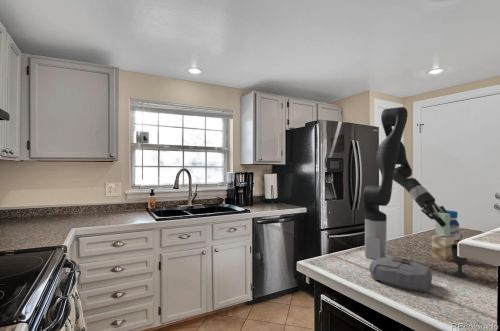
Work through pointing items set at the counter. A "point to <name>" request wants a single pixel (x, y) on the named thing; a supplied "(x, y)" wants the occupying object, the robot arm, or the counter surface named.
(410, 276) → the grey rounded bag
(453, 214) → the beverage bottle
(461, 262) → the sundae
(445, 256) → the tower bottom
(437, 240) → the tower top
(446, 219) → the sage block
